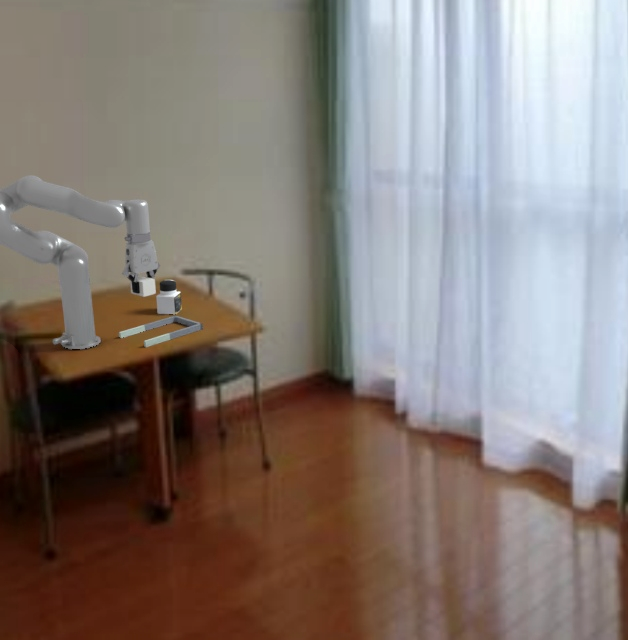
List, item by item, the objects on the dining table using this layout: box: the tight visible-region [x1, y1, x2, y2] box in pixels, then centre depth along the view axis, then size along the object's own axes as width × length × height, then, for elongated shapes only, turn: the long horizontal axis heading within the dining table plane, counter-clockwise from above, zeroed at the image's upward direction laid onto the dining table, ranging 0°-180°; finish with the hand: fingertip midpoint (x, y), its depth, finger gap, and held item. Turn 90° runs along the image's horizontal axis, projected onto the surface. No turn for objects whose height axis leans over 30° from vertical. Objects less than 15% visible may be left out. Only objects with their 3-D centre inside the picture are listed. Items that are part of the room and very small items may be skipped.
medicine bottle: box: [155, 279, 183, 316], centre depth 315 cm, size 7×7×12 cm
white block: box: [129, 275, 157, 298], centre depth 282 cm, size 5×7×5 cm
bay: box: [118, 314, 204, 348], centre depth 292 cm, size 24×15×2 cm, turn 137°
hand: (143, 290), depth 283 cm, fingers closed on white block, 5 cm apart
